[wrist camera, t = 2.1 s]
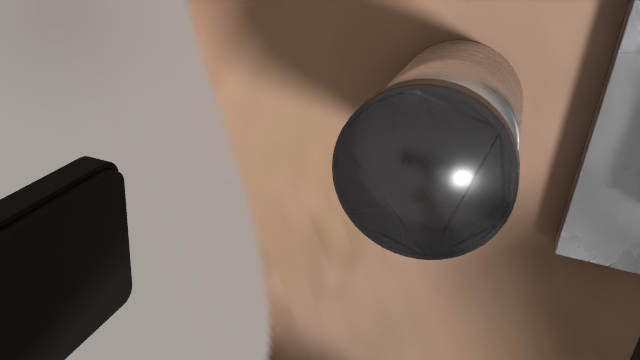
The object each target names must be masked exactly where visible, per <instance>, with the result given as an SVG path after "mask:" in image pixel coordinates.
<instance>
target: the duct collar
mask: <svg viewBox="0 0 640 360" xmlns="http://www.w3.org/2000/svg"><path fill="white" fill-rule="evenodd" d="M555 254H559V255H563V256H567V257H572V258H576V259H580V260H584V261H588V262H592V263H596V264H600V265H604V266H608V267H613V268H617V269H621V270H625V271H629V272H633V273H637V274H640V0H630V1H629V5H628V8H627V11H626V14H625V17H624V21H623V24H622V27H621V30H620V33H619V37H618V40H617V43H616V46H615V50H614V53H613V56H612V59H611V62H610V66H609V69H608V72H607V75H606V78H605V82H604V85H603V88H602V91H601V95H600V98H599V101H598V104H597V107H596V111H595V114H594V117H593V120H592V123H591V127H590V130H589V133H588V136H587V140H586V143H585V146H584V149H583V152H582V156H581V159H580V162H579V165H578V168H577V172H576V175H575V178H574V181H573V184H572V188H571V191H570V194H569V197H568V201H567V204H566V207H565V210H564V213H563V217H562V220H561V223H560V226H559V229H558V233H557V236H556V239H555Z"/></svg>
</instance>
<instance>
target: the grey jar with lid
mask: <svg viewBox="0 0 640 360" xmlns="http://www.w3.org/2000/svg"><path fill="white" fill-rule="evenodd" d="M522 111H523V92H522V87H521V83H520V81H519V78H518V76H517V74H516V72H515V70H514V69H513V67H512V66H511V65H510V63H509V62H508V61H507V60H506V59H505V58H504V57H503V56H502V55H501V54H499V53H498V52H496V51H495V50H493V49H492V48H490V47H488V46H486V45H483V44H480V43H477V42H473V41H466V40H452V41H446V42H442V43H439V44H436V45H433V46H431V47H429V48H427V49H426V50H424V51H422V52H421V53H420V54H418V55H417V56H416V57H415V58H414V59H413V60H412V61H411V62H410V63H409V64H408V65H407V66H406V67H405V68H404V69H403V70H402V71H401V72H400V73H399V74H398V75H397V76H396V77H395V78H394V79H393V80H392V81H391V82H390V83H389V84H388V85H387V86H386V87H385V88H384V89H382V90H381V91H379V92H377V93H376V94H374V95H373V96H372V97H371V98H369V99H368V100H367V101H366V102H365V103H364V104H363V105H362V106H361V107H360V108H359V109H358V110H357V111H356V112H355V113H354V114H353V115H352V116H351V117H350V118H349V120H348V121H347V122H346V124H345V125H344V127H343V128H342V130H341V132H340V134H339V137H338V139H337V142H336V145H335V148H334V154H333V162H332V173H333V181H334V186H335V190H336V193H337V196H338V199H339V201H340V203H341V205H342V207H343V209H344V211H345V212H346V214H347V215H348V217H349V218H350V220H351V221H352V222H353V223H354V225H355V226H356V227H357V228H358V229H359V230H360V231H361V232H362V233H363V234H364V235H365V236H367V237H368V238H369V239H371V240H372V241H373V242H375V243H376V244H378V245H380V246H381V247H383V248H385V249H387V250H389V251H392V252H394V253H397V254H400V255H403V256H406V257H411V258H416V259H425V260H441V259H448V258H453V257H457V256H461V255H464V254H466V253H469V252H471V251H473V250H475V249H477V248H479V247H480V246H482V245H484V244H485V243H486V242H488V241H489V240H490V239H491V238H493V237H494V236H495V235H496V234H497V233H498V232H499V231H500V229H501V228H502V227H503V225H504V224H505V223H506V221H507V219H508V218H509V216H510V214H511V212H512V210H513V207H514V204H515V201H516V197H517V192H518V184H519V173H520V160H519V151H518V148H519V139H520V130H521V121H522Z"/></svg>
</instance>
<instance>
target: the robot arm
mask: <svg viewBox="0 0 640 360" xmlns="http://www.w3.org/2000/svg"><path fill="white" fill-rule="evenodd" d="M131 290H132V276H131V265H130V251H129V238H128V225H127V212H126V199H125V186H124V178H123V176H122V174H121V173H120V172H118V169H117V167H116V165H115V164H113V163H112V162H108V161H104V160H100V159H96V158H92V157H87V156H84V157H81V158H79V159H77V160H75V161H73V162H71V163H69V164H67V165H65V166H64V167H61V168H60V169H58V170H56V171H54V172H52V173H50V174H48V175H46V176H44V177H43V178H41V179H39V180H37V181H35V182H33V183H31V184H29V185H27V186H25V187H23V188H22V189H20V190H18V191H16V192H14V193H12V194H10V195H8V196H6V197H5V198H3V199H1V200H0V360H65V359H66V358H67V357H68V356H69V355H70V354H71V353H72V352H73V351H74V350H75V349H76V348H78V347H79V346H80V345H81V344H82V343H83V342H84V341H85V340H86V339H87V338H88V337H89V336H91V335H92V334H93V333H94V332H95V331H96V330H97V329H98V328H99V327H100V326H101V325H102V324H103V323H104V322H106V321H107V320H108V319H109V318H110V317H111V316H112V315H113V314H114V313H115V312H116V311H117V310H118V309H119V308H121V307H122V306H123V305H124V304H125V303H126V301H127V300H128V298H129V296H130V294H131ZM630 360H640V337H639V340H638V342H637V344H636V347H635V349H634V351H633V354H632V356H631V358H630Z"/></svg>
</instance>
